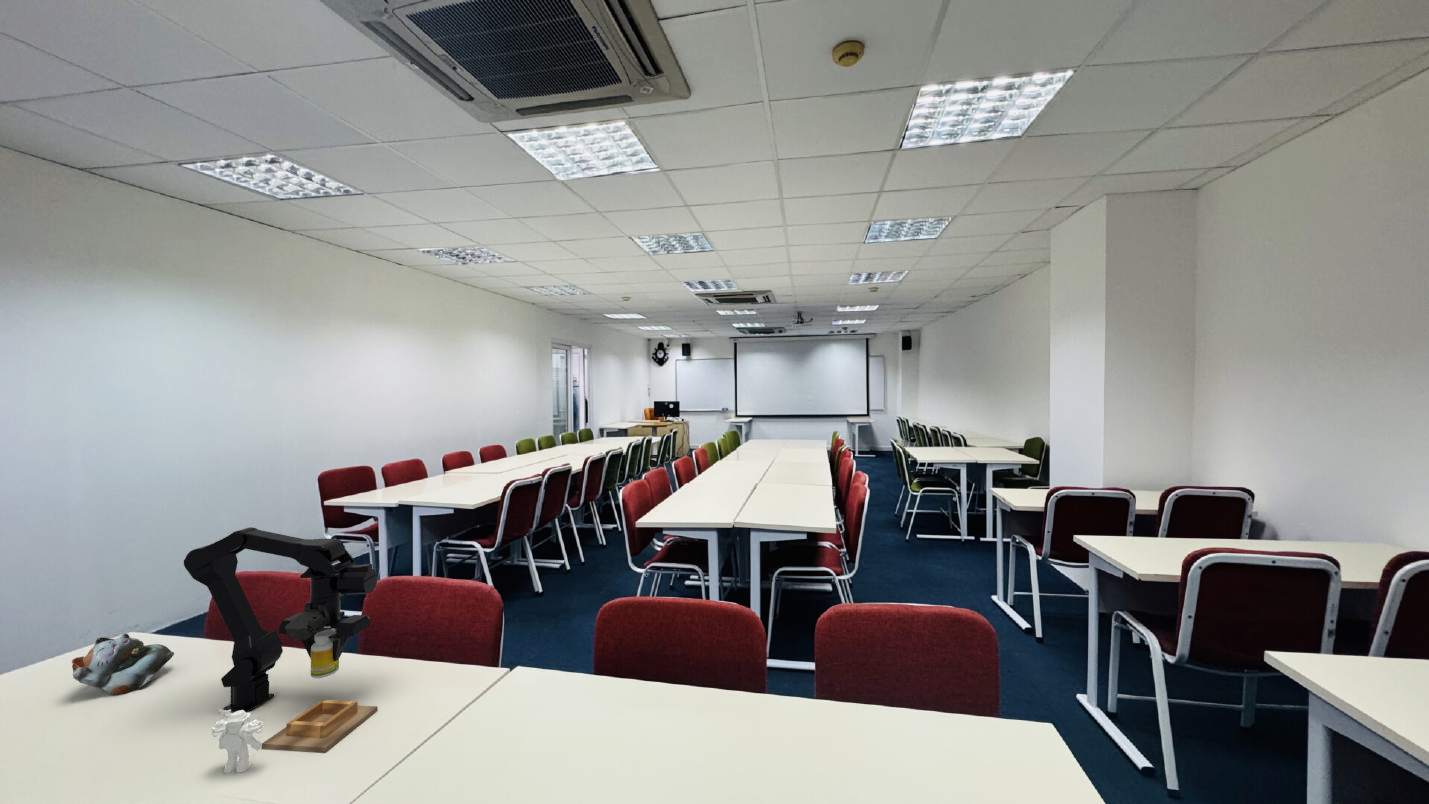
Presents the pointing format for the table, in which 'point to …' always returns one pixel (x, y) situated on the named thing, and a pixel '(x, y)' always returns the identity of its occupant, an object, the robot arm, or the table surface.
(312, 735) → the socket
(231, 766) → the flower shoulder figurine
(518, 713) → the table surface
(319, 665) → the supplement bottle
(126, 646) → the lucky cat figurine
